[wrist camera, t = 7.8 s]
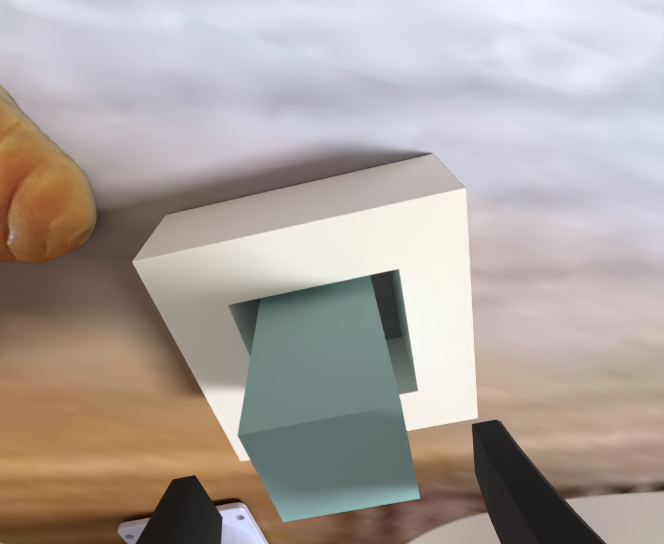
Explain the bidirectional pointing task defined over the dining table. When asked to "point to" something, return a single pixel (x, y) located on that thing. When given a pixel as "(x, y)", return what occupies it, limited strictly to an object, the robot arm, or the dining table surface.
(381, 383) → the post
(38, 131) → the pastry
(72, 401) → the dining table surface
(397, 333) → the well
